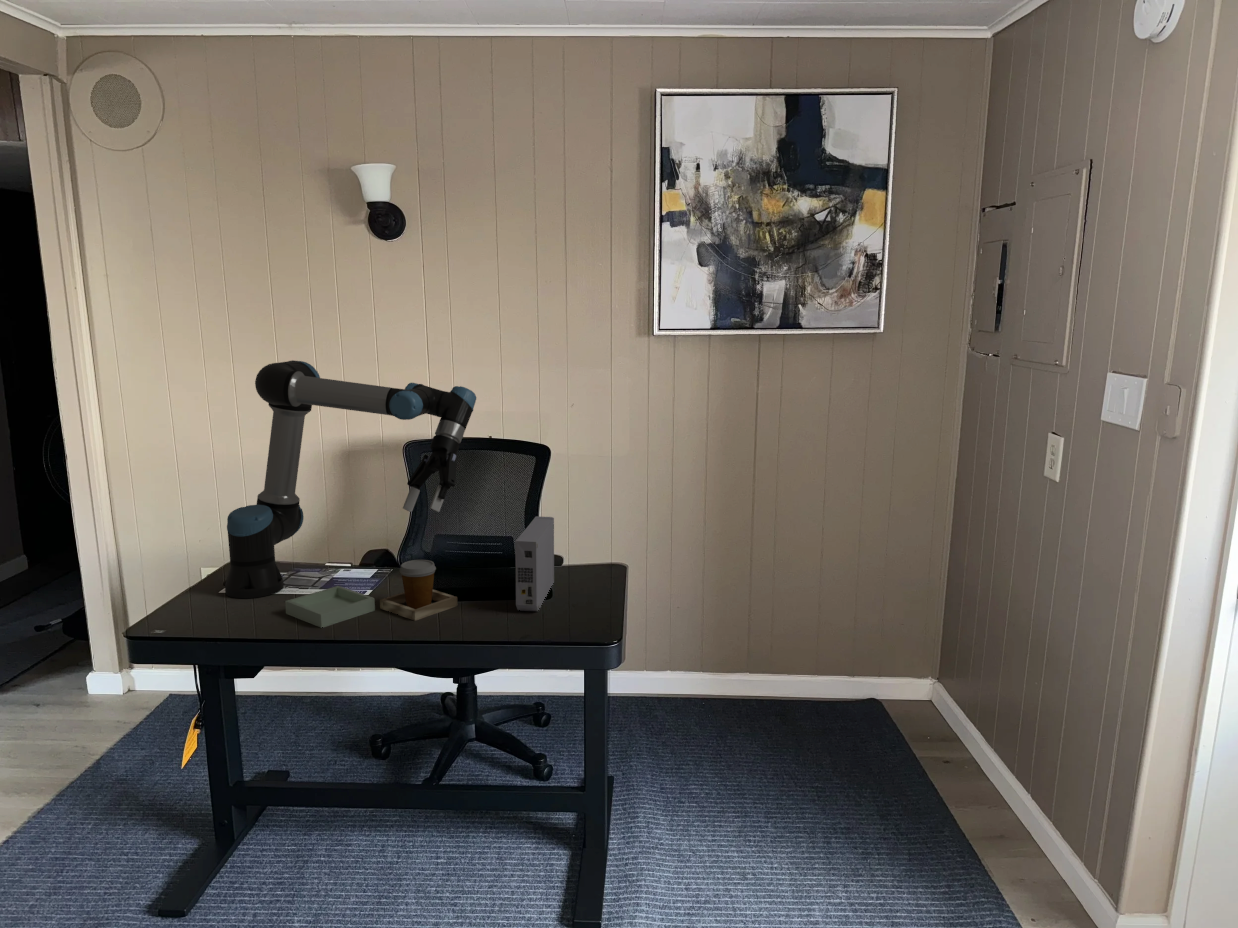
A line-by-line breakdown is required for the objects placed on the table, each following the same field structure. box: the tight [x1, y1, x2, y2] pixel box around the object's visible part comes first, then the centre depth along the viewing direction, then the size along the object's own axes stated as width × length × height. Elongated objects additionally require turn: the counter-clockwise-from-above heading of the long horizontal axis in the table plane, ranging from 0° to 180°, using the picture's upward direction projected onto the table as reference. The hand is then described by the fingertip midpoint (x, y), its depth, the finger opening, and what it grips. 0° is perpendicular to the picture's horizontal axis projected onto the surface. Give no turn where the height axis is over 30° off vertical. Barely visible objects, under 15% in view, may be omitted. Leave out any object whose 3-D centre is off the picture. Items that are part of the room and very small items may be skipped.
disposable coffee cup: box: [398, 559, 437, 609], centre depth 223 cm, size 10×10×12 cm
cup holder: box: [379, 589, 458, 622], centre depth 224 cm, size 14×14×2 cm
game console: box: [514, 515, 555, 612], centre depth 231 cm, size 6×27×20 cm, turn 174°
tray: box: [284, 585, 376, 629], centre depth 219 cm, size 16×16×4 cm
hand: (420, 510), depth 224 cm, fingers open, 13 cm apart
